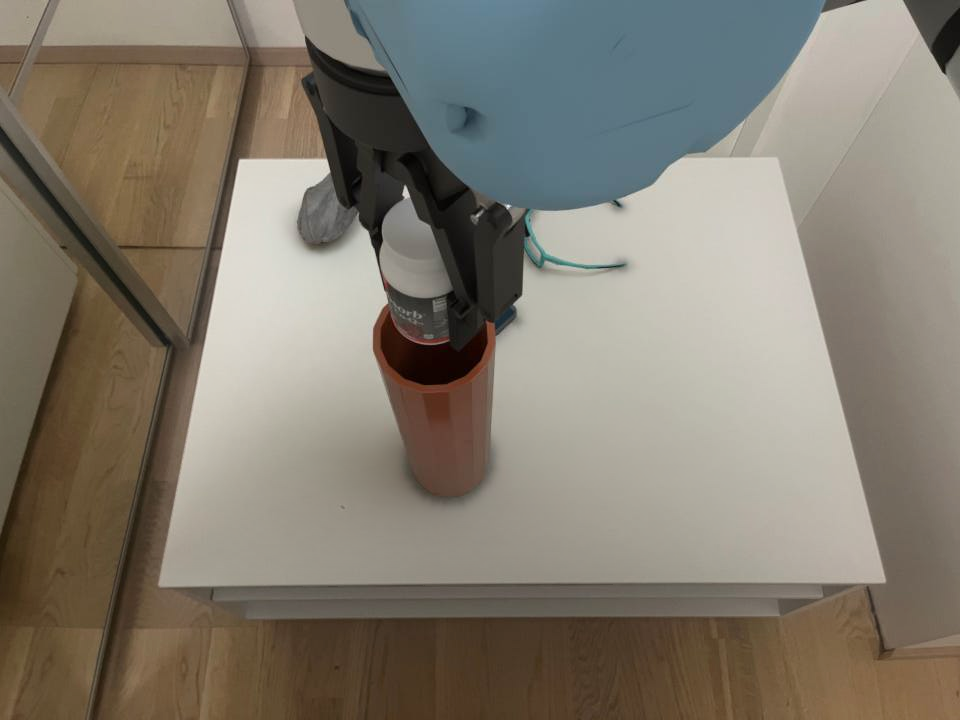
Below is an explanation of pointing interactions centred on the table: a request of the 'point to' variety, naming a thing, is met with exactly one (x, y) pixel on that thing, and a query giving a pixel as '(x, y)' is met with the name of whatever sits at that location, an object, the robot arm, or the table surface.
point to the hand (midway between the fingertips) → (433, 308)
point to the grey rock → (323, 213)
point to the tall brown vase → (440, 404)
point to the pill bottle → (414, 276)
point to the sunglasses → (555, 260)
